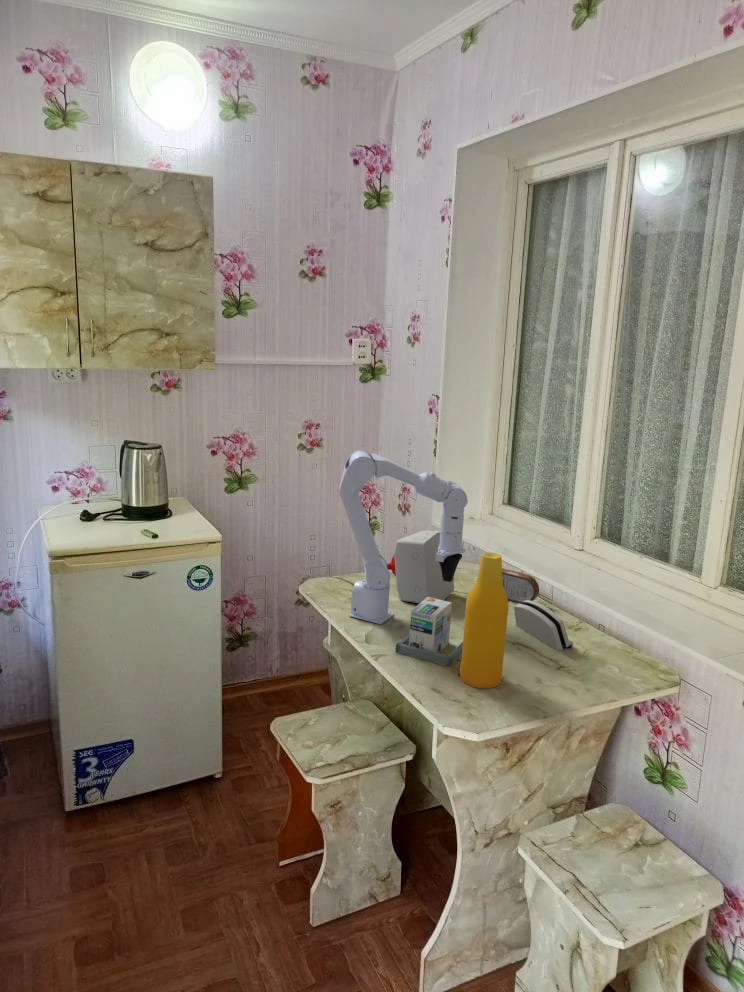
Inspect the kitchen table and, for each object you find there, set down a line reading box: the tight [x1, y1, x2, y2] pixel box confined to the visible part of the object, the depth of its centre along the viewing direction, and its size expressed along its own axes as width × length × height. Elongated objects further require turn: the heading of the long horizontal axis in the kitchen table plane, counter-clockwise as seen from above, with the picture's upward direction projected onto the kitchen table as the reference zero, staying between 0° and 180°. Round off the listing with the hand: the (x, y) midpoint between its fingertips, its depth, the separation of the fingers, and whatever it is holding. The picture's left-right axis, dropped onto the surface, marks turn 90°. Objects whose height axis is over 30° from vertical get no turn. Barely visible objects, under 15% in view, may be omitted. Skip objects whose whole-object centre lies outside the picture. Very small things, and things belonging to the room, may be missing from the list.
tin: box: [502, 567, 540, 604], centre depth 216 cm, size 15×3×8 cm, turn 58°
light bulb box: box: [409, 597, 453, 654], centre depth 182 cm, size 11×7×11 cm, turn 153°
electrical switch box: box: [387, 529, 455, 604], centre depth 215 cm, size 14×15×20 cm
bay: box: [395, 632, 463, 667], centre depth 183 cm, size 14×15×2 cm
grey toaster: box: [513, 600, 574, 652], centre depth 191 cm, size 17×5×10 cm, turn 28°
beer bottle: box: [459, 551, 509, 689], centre depth 165 cm, size 9×9×29 cm
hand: (447, 580), depth 199 cm, fingers closed
